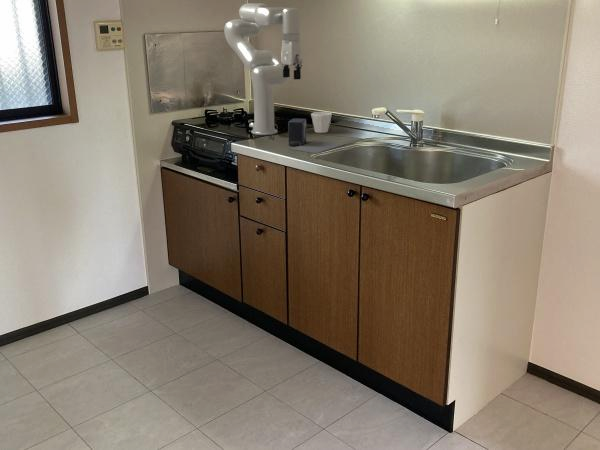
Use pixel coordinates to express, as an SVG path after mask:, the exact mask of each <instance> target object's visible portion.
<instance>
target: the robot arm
mask: <svg viewBox="0 0 600 450" xmlns="http://www.w3.org/2000/svg"><path fill="white" fill-rule="evenodd" d="M300 14H301V11H300V9H299V8H297V7H269V6H268V5H267V4H265V3H262V2H261V3H259V2H256V3H255V2H248V3H244V4H243V5H241V6H240V7H239V10H238V15H239V17H240V19H239V18H238V19H231V20H229V21H227V22H226V23H225V25H224V30H223V32H224V37H225V39H226V42H227V43H228V45H229V46H230V47H231V49H232V50H233V51H234V52H235V53H236V55H237V56H238V58H239V59H240V60H241V62H242V64H243V65H244V66H245V68H246V70H247V69H248V70H249V71H251V73H250V78H251V84H252V89H253V90H252V91H253V114H254V117H253V119H254V120H253V121H254V122H250V123H249V125H248V126H249V128H252V129H251V130H250V131H251V134H253V135H258V136H269V135H270V136H271V135H275V134H278V129H275V98H274V97H275V95H274V92H273V91H272V89H271V88H270V87H275V86H281V85H284V84H285V83H286V82H287V80H288V78H290V77H291V76H290V75H291V74H290V72H291V69H290V66H293V80H294V81H295V80H301V77H302V75H301V70H302V67H303V66H302V65H303V59H302V54H301V44H300V41H301V15H300ZM265 26H267V27H270V26H272V27H275V26H276V27H277V26H281V27H282V41H281V42H282V43H281V58H280V59H279V58H278V56H277V55H276V54H275V53H274V52H273V51H271V50H269V49H266V50H265V49H263V50H258V49H256V48H255V47H254V46H253V44H252V43H251V41H249V40H247V39H246V38H255V37H257V36H259V35H260V33H261V32H262V30H263V29H264V27H265ZM280 60H281V61H280Z"/></svg>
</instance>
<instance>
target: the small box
mask: <svg viewBox="0 0 600 450" xmlns="http://www.w3.org/2000/svg"><path fill="white" fill-rule="evenodd" d="M287 126H288V127H287V130H288V131H287V132H288V146H301V145H305V143H306V142H307V118H292V119H290V120H289V121H288V123H287Z"/></svg>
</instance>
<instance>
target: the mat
mask: <svg viewBox="0 0 600 450" xmlns="http://www.w3.org/2000/svg"><path fill="white" fill-rule="evenodd" d="M345 145H346V144H345V143H341V142H333V141H327V140H316V141H312V142H308V143H306V144H305V143H304V144H303V145H297V146H295V147H292V148H291V147H290V151H291V150H292V151H297V152H304V153H309V154H315V155H317V154H320V153H322V152H326V151H330V150H334V149H336V148H339V147H343V146H345Z"/></svg>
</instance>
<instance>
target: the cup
mask: <svg viewBox="0 0 600 450" xmlns="http://www.w3.org/2000/svg"><path fill="white" fill-rule="evenodd" d="M332 116H333V113H332V112H328V111H314V112H311V113H310V117H311V119H312V125H313V129H314V133H316V134H327V133H328V132H329V127H330V124H331V119H332Z"/></svg>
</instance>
